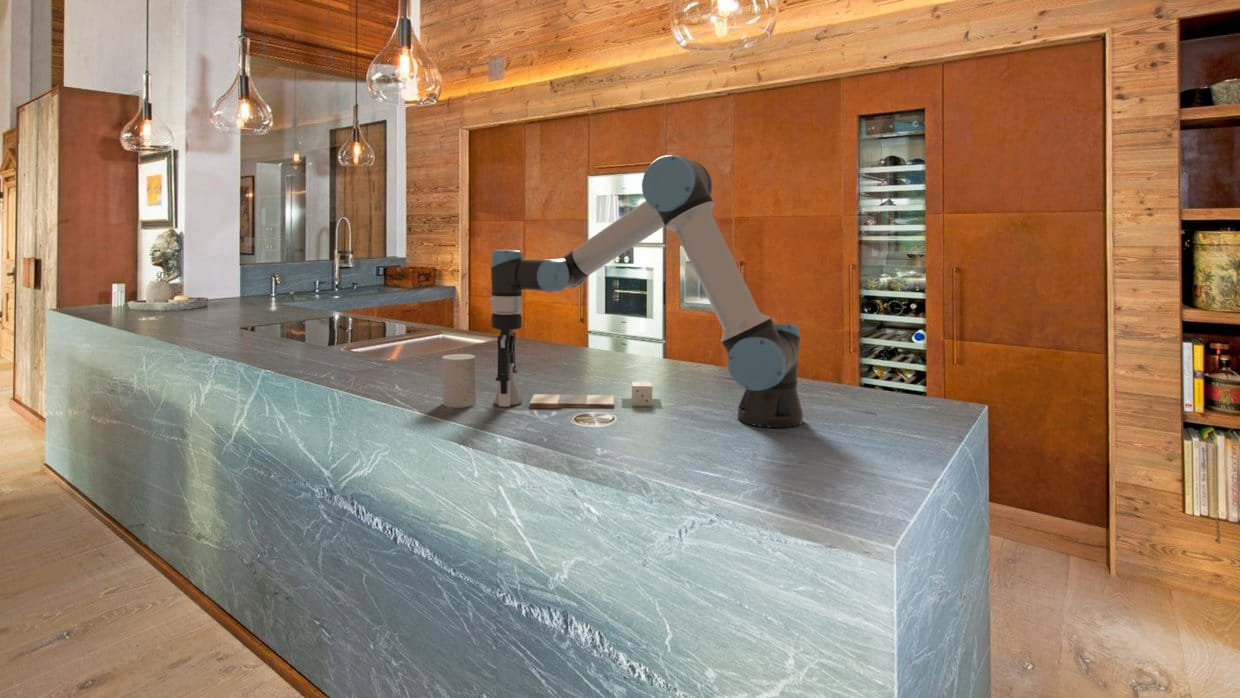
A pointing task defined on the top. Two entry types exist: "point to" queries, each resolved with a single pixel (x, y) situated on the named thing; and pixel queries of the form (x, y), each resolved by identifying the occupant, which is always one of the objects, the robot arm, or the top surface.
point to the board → (571, 401)
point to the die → (641, 394)
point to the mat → (628, 404)
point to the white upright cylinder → (459, 380)
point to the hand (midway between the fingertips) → (506, 401)
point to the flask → (511, 390)
